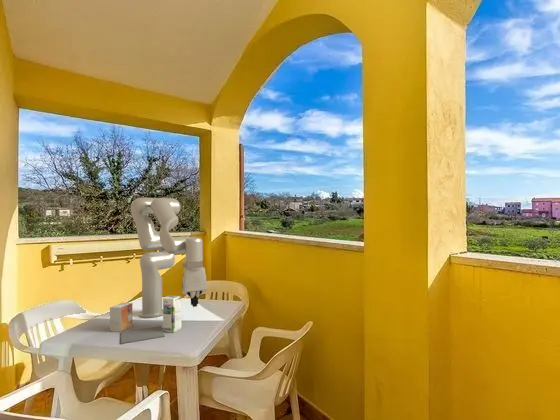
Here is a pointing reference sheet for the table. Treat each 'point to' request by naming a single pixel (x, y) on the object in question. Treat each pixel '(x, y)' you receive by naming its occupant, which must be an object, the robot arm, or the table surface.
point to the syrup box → (171, 313)
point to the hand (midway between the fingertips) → (194, 306)
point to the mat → (141, 334)
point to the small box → (120, 317)
